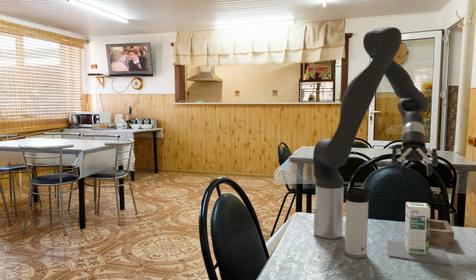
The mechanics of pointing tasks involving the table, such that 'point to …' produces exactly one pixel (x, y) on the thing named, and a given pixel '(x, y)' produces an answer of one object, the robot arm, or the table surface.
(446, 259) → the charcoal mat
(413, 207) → the syrup box
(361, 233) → the travel mug
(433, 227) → the walnut holder
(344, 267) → the table surface
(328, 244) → the table surface
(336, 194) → the robot arm
